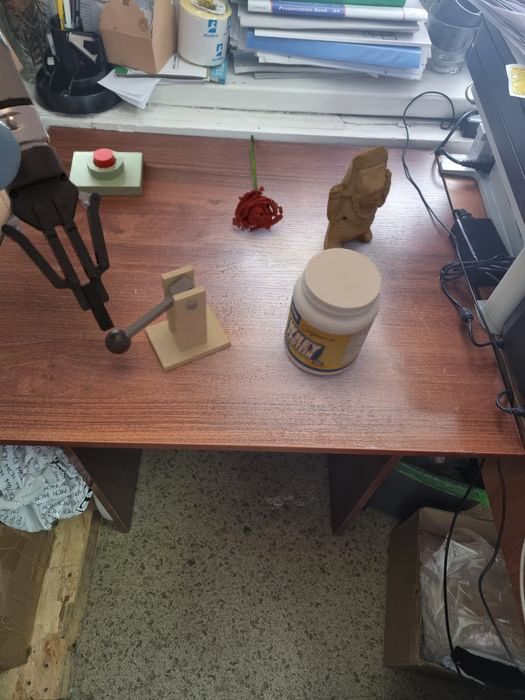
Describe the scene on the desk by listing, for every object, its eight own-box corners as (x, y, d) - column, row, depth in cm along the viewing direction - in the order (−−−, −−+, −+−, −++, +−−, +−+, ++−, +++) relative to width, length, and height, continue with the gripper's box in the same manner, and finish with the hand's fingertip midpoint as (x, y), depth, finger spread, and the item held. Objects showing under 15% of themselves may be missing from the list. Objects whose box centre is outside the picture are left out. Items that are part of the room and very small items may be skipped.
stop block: (70, 195, 95) (65, 178, 91) (76, 161, 100) (71, 143, 97) (141, 195, 96) (138, 178, 93) (143, 161, 101) (141, 144, 98)
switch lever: (120, 362, 72) (104, 355, 69) (112, 343, 74) (96, 335, 71) (203, 299, 70) (190, 289, 67) (193, 280, 72) (179, 270, 68)
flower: (240, 167, 113) (245, 249, 94) (220, 129, 107) (220, 209, 87) (278, 149, 111) (291, 230, 91) (260, 109, 104) (269, 187, 84)
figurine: (327, 268, 90) (352, 175, 73) (306, 241, 93) (326, 146, 76) (384, 247, 94) (421, 154, 77) (362, 221, 97) (393, 127, 80)
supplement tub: (267, 344, 80) (277, 273, 66) (316, 302, 85) (336, 229, 71) (325, 393, 76) (350, 330, 62) (373, 346, 81) (406, 278, 67)
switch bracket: (164, 372, 76) (155, 318, 64) (145, 332, 80) (133, 274, 68) (230, 345, 79) (233, 290, 68) (209, 308, 83) (208, 250, 71)
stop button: (94, 168, 94) (92, 160, 92) (95, 156, 96) (94, 148, 94) (114, 168, 94) (112, 160, 93) (115, 156, 96) (113, 148, 95)
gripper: (-35, 164, 56) (64, 353, 63) (77, 130, 61) (158, 310, 68) (-31, 176, 62) (58, 346, 70) (70, 145, 67) (144, 307, 74)
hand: (107, 328), depth 69 cm, fingers closed
